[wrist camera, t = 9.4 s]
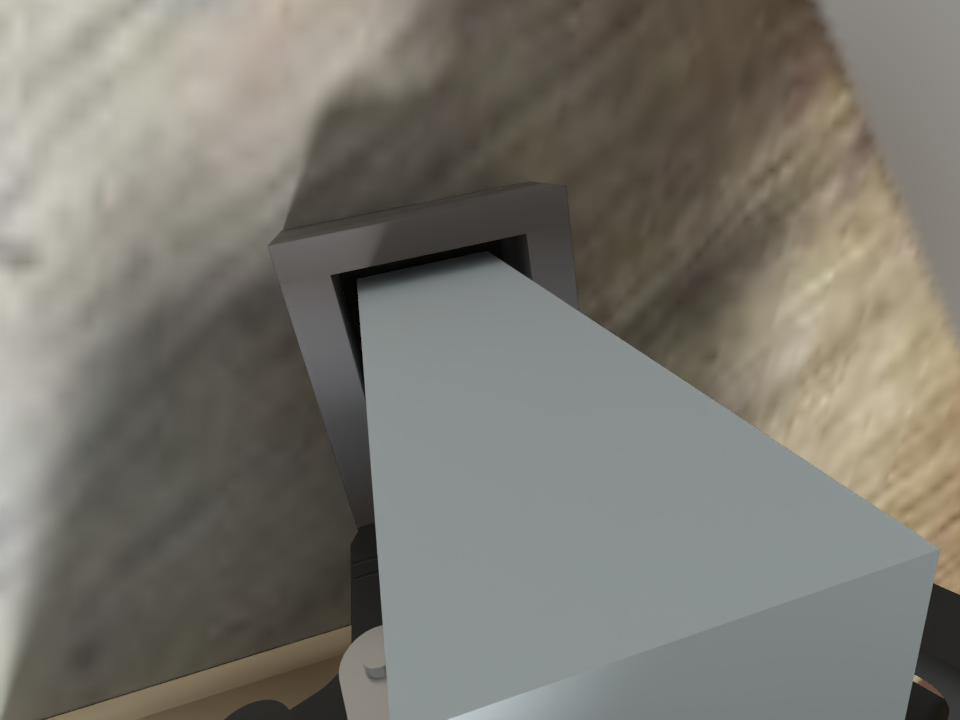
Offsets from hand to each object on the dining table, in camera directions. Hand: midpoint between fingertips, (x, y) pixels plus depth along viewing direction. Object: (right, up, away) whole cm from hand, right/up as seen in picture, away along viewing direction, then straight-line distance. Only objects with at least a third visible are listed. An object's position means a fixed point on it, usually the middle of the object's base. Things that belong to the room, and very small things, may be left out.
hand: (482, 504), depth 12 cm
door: (-1, +1, +2) cm, 3 cm away
